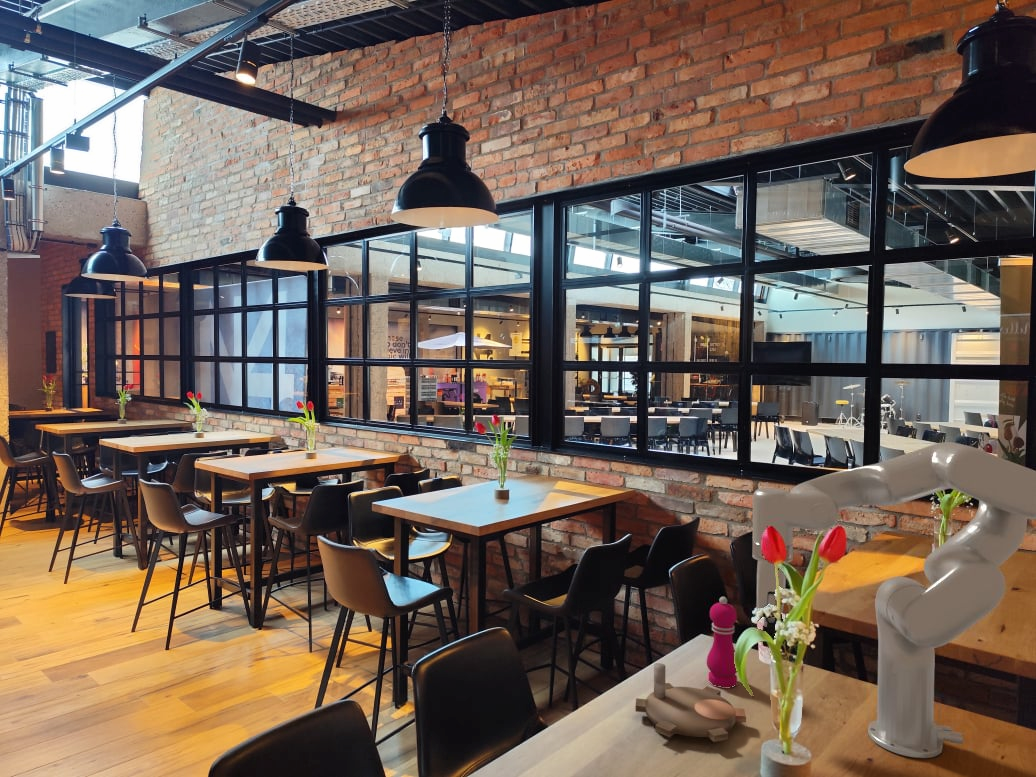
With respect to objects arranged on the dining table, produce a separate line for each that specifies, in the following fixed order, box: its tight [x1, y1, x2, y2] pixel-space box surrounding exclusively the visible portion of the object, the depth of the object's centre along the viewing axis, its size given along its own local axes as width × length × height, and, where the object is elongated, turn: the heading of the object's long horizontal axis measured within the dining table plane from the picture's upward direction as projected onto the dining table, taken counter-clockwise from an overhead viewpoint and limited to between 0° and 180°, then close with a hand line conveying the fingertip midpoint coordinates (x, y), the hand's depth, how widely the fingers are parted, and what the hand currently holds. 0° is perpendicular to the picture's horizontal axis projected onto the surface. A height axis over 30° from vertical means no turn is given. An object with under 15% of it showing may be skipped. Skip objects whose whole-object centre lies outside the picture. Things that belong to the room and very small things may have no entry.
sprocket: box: [635, 662, 747, 743], centre depth 140 cm, size 22×20×8 cm
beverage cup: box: [756, 612, 786, 665], centre depth 136 cm, size 6×6×14 cm
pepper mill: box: [706, 596, 738, 687], centre depth 157 cm, size 7×7×20 cm
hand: (771, 639), depth 136 cm, fingers closed on beverage cup, 6 cm apart
